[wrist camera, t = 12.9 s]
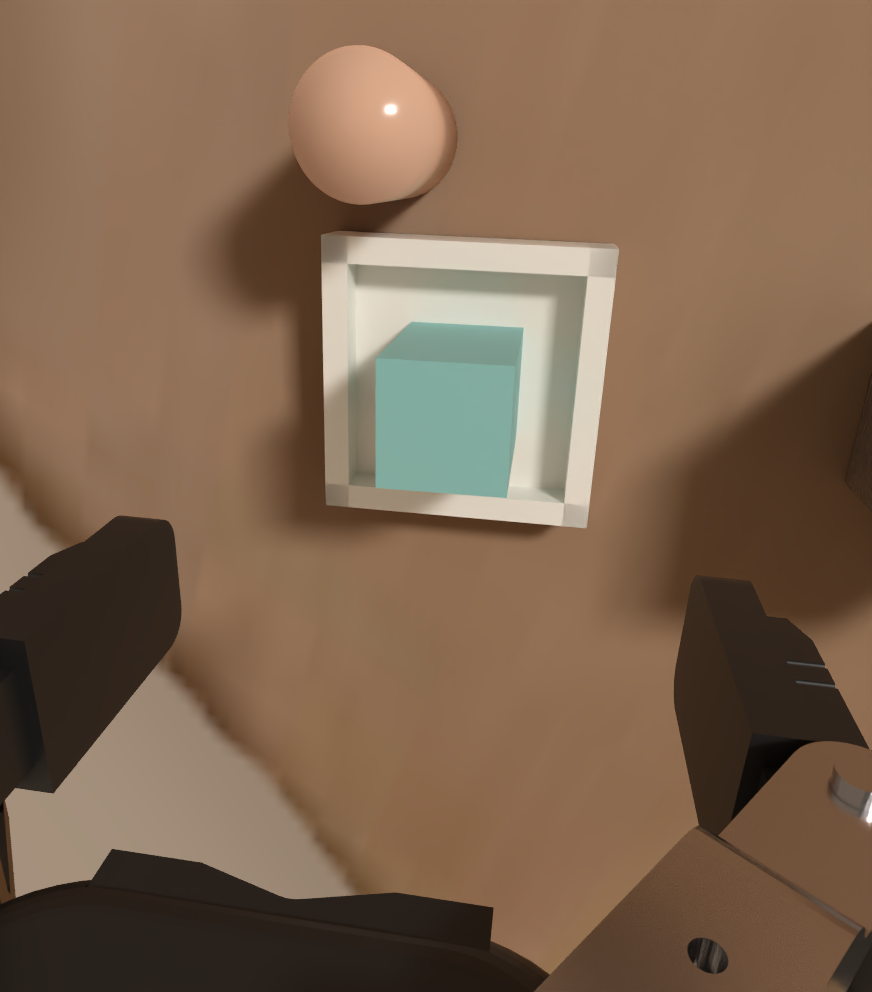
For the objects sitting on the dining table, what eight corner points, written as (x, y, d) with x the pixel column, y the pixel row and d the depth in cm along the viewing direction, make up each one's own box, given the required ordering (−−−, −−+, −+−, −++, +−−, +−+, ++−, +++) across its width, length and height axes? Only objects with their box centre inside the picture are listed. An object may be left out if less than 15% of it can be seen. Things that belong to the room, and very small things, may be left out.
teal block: (411, 321, 32) (375, 358, 26) (523, 327, 32) (515, 366, 25) (410, 428, 34) (375, 487, 27) (516, 435, 33) (506, 498, 27)
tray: (337, 230, 32) (321, 234, 30) (614, 243, 31) (618, 249, 29) (340, 484, 36) (325, 505, 34) (584, 505, 35) (586, 528, 33)
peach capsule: (344, 72, 30) (286, 43, 24) (460, 74, 30) (433, 46, 23) (344, 196, 32) (290, 201, 25) (454, 201, 31) (428, 207, 25)
